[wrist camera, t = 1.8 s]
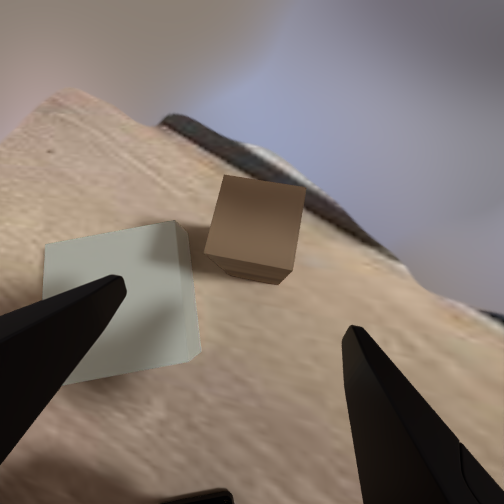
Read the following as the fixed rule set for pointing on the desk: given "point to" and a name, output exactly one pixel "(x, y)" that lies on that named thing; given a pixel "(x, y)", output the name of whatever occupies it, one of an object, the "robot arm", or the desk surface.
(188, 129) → the desk surface
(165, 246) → the plate
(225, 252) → the walnut block
